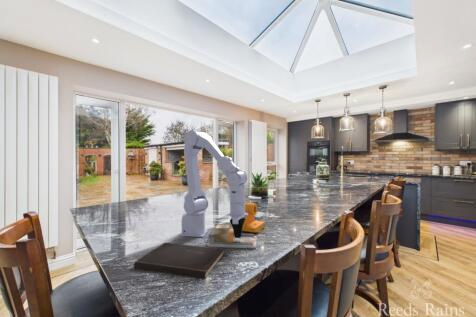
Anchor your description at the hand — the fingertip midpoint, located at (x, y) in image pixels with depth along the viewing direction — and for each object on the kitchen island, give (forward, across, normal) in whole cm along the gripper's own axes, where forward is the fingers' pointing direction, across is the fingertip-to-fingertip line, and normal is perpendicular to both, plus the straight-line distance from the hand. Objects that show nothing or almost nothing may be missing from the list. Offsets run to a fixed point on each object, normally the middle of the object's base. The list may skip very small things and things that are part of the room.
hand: (238, 237), depth 86 cm
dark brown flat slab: (+3, -17, +16) cm, 23 cm away
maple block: (+1, 0, +6) cm, 6 cm away
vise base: (+2, 0, +2) cm, 3 cm away
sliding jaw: (+1, 0, +2) cm, 3 cm away
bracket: (+2, +16, -5) cm, 17 cm away
